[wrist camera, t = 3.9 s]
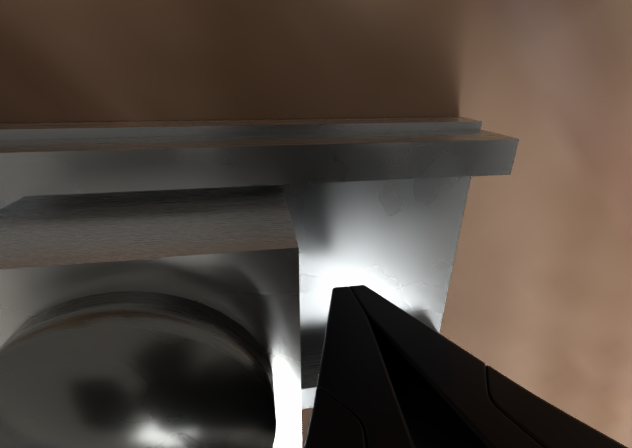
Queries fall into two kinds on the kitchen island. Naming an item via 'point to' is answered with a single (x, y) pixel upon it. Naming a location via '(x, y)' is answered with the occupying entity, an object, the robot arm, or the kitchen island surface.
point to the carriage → (150, 320)
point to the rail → (293, 192)
